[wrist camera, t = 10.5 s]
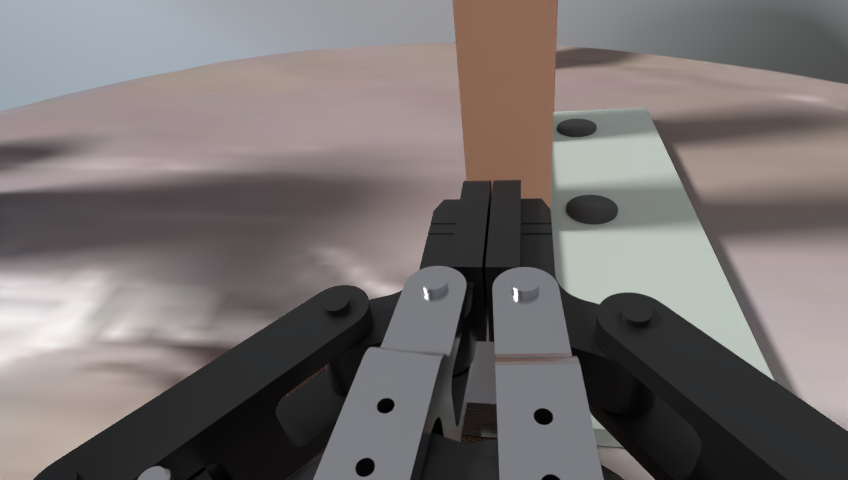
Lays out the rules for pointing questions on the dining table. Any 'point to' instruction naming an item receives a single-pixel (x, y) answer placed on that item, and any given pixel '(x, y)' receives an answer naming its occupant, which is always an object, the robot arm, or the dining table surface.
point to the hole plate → (634, 229)
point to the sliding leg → (508, 90)
